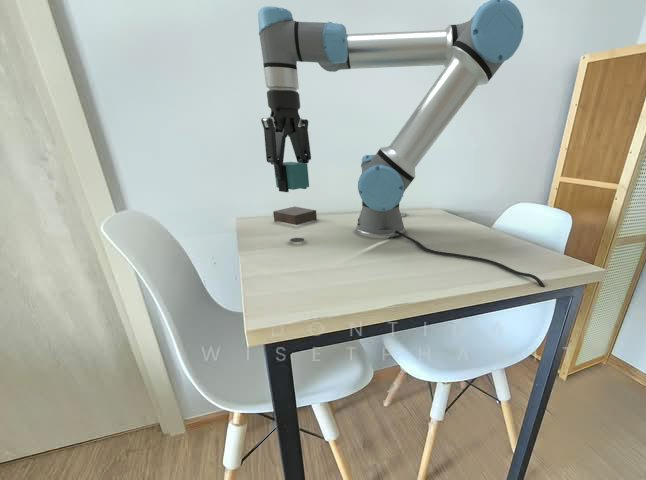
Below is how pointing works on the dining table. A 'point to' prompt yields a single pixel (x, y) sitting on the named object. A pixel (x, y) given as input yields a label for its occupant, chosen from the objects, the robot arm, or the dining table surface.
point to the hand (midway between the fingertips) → (293, 189)
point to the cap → (297, 239)
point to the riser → (295, 215)
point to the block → (296, 175)
